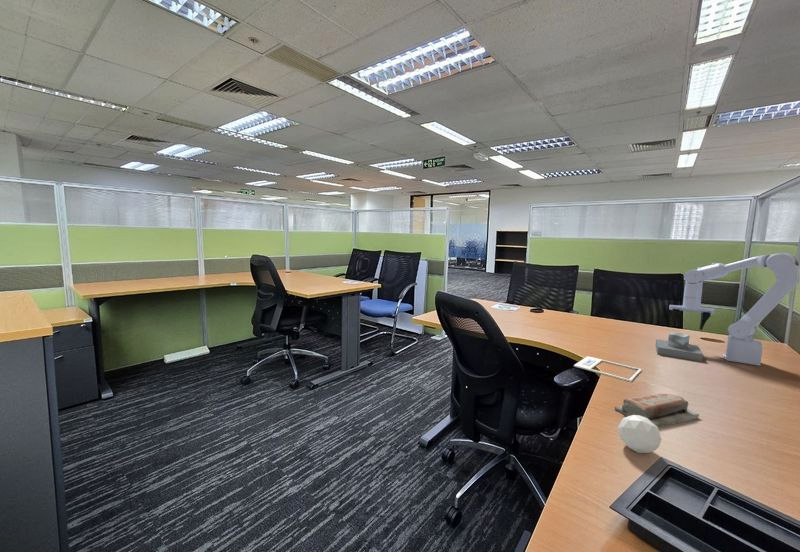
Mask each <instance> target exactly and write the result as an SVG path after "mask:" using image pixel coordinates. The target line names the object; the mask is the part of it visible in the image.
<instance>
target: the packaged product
mask: <svg viewBox="0 0 800 552" xmlns="http://www.w3.org/2000/svg"><path fill="white" fill-rule="evenodd" d="M688 407H689V401H687V400H686V399H684V397H682V396H680V395H674V394H671V393H665V392H660V393H653V394H648V395H641V396H634V397H628V398H624V399H623V404H622V405H619V406H614V410H615V411H616V412H618V413H620V414H622V415H624V416H625V417H628V416H631V415H640V416H642V417H645V418H648V419H649V420H650V421H651V422H652V423H653V424H654V425H656V426H658V427H663V426H662V425H664V426H668V425H674V424H673V423H675V424H679V423H678V422H680V423H683V421H684V422H687V421H688V420H689V421H692V419H693V420H697V419H699V417H700V414H699V413H697V412H696V411H693V410H690V409H688ZM696 418H697V419H696Z"/></svg>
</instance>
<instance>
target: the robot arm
mask: <svg viewBox="0 0 800 552" xmlns="http://www.w3.org/2000/svg"><path fill="white" fill-rule="evenodd" d="M752 267H758V268H769V269H770V271H771V272H773V274H774V276H775V278H776V282H775V283H774V284H773V285H772V286H771V287H770V288H769V289H768V290H767V291H766V292H765V294H763V296H762V297H761V298H760V299H759V300H758V301H757V302H756V303H755V304H754V305H752V307H751V308H750V309H749V310H748V311H747V312H746V313H745V314H744V315H743V316H742V317H741V318H740V319H739V320H738V321H736V322H734V323H731V324H730V325H729V326H728V327H727V333H728V335H727V342H726V349H725V350H726V351H725V353H723V354H722V357H724V359H725V360H726V361H728V362H735V363H740V364H746V365H753V366H759V367H761V362H762V356H763V342H762V341H761V340H757V339H756V340H755V338H754V337H753V335H755V334H756V332H757V328H758V327H759V325H760V324H761V322H762V321H763V320H764V319H765V318H767V316H768V315H769V313H771V312H772V311H773V310H774V309H775V308H776V307H777V305H779V304H780V302H782V300H783V299H784V298H785V297H786V296H787V295H788V294H789V293H790V292H791V291H793V289H794V288H795V287H797V286H798V285H799V283H800V262H799V261H798V259H797V258H796V256H795V255H793V254H792V253H789V252H776V253H773V254H765V255H764V254H763V255H757V256H753V257H749V258H746V259H741V260H739V261H735V262H731V263H727V264H725V263H723V262H722V263H721V262H718V263H717V262H712V263H711V264H710V265H705V266H703V267H702V266H698V267H697V269H694V268H693V269H690V270H687V271H686V272H685V273H684V275H683V279H684V280H685V284H684V291H683V300H682V305H679V304H678V305H677V304H676V305H675V304H669V310H670V311H672V314H673V316H674V318H675V322H676V323H675V325H676V327H677V328H679V327H680V318H681V312H689V313H690V312H691V313H700V321H699V322H700V323H699V330H701V331H703V328H704V326H705V324H706V323H707V321H708V320H709V319H710V318H711V315H714V314H715V308H708V307H701V306H702V304H701V303H702V296H703V295H702V294H703V284H704V283H703V282H704V281H710V280H716V279H719V278H723V277H724V278H725V277H726V276H727V275H728V274H729V273H730V272H734V271H739V270H744V269H748V268H752Z"/></svg>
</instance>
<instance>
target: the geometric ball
mask: <svg viewBox="0 0 800 552" xmlns="http://www.w3.org/2000/svg"><path fill="white" fill-rule="evenodd" d="M617 431H618V434H619V438H620V440H621V441H622V442H623V444H625V445H626V446H627V447H628V448H629V449H630V450H632V451H634V452H636V453H638V454H648V453H653V452H654V451H656V450H657V449H659V447H660V446H661V445H660V444H661V442H662V437H661V433H660V429H659V426H658V427H657V426H656V425H654V424H653V423H652V422H651V421H650V420H649V419H648V418H645V417H642V416H640V415H631V416H625V417H624V418H622V419H621V420H620V422H619V425H618V427H617Z"/></svg>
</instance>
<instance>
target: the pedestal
mask: <svg viewBox="0 0 800 552" xmlns="http://www.w3.org/2000/svg"><path fill="white" fill-rule="evenodd" d="M655 350H656V355H658V356H659V355H660V356H664V357H665V356H666V357H667V356H668V357H673V358H678V359H683V360H690V361H697V362H703V357H704V353H703V352H702V351H701V348H700V347H699V344H698V345H697V344H692V343H689V346H688V347H687V348H684V349H681V348H677V347H672V346H668V340H666V339H665V340H664V339H657V338H656V339H655Z"/></svg>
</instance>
